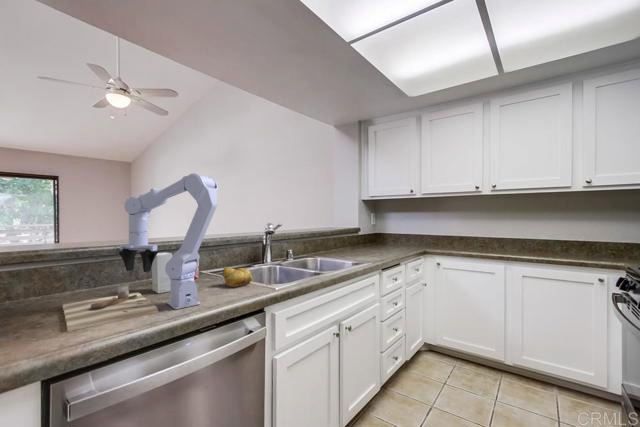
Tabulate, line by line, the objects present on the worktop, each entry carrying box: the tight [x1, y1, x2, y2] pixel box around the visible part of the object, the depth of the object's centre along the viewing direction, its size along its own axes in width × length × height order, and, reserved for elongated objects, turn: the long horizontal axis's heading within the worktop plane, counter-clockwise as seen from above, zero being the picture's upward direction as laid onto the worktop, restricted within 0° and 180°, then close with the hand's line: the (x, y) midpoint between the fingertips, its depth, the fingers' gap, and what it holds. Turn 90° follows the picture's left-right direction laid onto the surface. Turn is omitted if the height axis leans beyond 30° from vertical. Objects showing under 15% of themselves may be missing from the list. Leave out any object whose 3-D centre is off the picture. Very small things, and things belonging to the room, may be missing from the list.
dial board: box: [62, 291, 159, 332], centre depth 91 cm, size 26×21×1 cm
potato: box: [222, 266, 253, 288], centre depth 124 cm, size 13×10×8 cm
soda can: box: [194, 251, 200, 283], centre depth 130 cm, size 7×7×13 cm
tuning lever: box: [91, 283, 137, 309], centre depth 94 cm, size 14×3×5 cm, turn 159°
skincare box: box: [151, 252, 173, 294], centre depth 114 cm, size 8×6×15 cm
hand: (138, 270), depth 101 cm, fingers open, 7 cm apart
